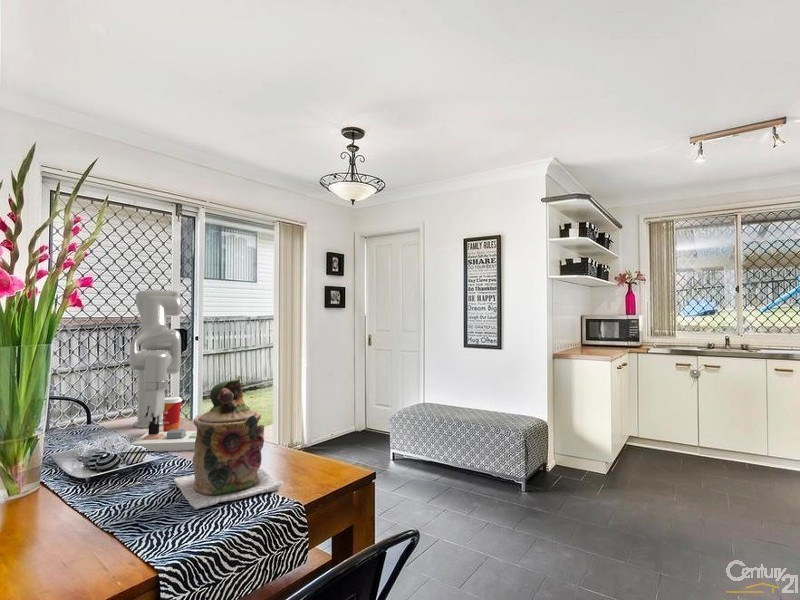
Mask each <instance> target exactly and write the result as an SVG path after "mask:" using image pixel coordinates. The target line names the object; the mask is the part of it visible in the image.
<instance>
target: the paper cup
mask: <svg viewBox="0 0 800 600" xmlns="http://www.w3.org/2000/svg"><path fill="white" fill-rule="evenodd" d="M182 402H183V400H182V397H180V396H171V397H170V396H168V397H165V406H164V411H163V413H162V419H163V425H162V427H163V431H162V432H169V431H170V430H171V429H180V428H179V427H180V419H181V407H182Z"/></svg>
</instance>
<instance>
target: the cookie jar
mask: <svg viewBox="0 0 800 600" xmlns="http://www.w3.org/2000/svg"><path fill="white" fill-rule="evenodd" d="M241 378H242V376H241V375H238V377H237V378H236V379H230V380H225V381H222V382H219V383H218V384H216V385H214V386H213V387H212V388H211V391H210V402H211V403H212V405H213V407H211V409H210V410H209V411H207V412H203V413H200V414H198V415H195V418H194V419H193V425H194V426H195V428H196V431H197V437H196V440H195V448H194V450H193V452H194V455H193V457H192V468H193V473H194V474H191V475H186V476H180V477H174V479H173V482H174V484H175V485H176V487H177V488H178V489H179V490H180V492H181V493H182V495H183V497H184V498H185V500H186V501H188V504H189V506H191V507H192V508H193V509H195V510H196V511H197V510H199V509H201V508H207V507H210V506H213V505H217V504H218V503H222V502H228V501H229V502H230V501H235V500H240V499H245V498H249V497H252V496H257V495H260V494H264V493H267V492H268V493H269V492H274V491H277V490H279V489H280V488H281V486H282V485H283V484H284V482H283V481H282V480H280V479H278V478H277V477H276V478H275V477H273V476H272V475H271V474H270V473H268V472H267V471H266V470H265V469H264V468H262V467H261V465H262V458H263V457H262V449H263V447H264V443H265V436H264V435H265V425H264V424H259V421H260V420H261V414H260V413H259V412H257V411H256V410H252V409H251V408H250V407H249V406H248V405H246V403H245V400H244V398H243V397H244V396H243V389H242V383H241ZM258 424H259V425H258Z"/></svg>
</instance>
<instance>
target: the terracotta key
mask: <svg viewBox="0 0 800 600" xmlns="http://www.w3.org/2000/svg"><path fill="white" fill-rule="evenodd" d="M163 435H164V434H157V435H149V434H148V435H147V436H146V437H144V440H154V439H161V438H162V437H163Z"/></svg>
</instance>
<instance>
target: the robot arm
mask: <svg viewBox="0 0 800 600" xmlns="http://www.w3.org/2000/svg"><path fill="white" fill-rule="evenodd" d="M135 305H136V307H137V308H136V309H137V311H138V313H139V315H140V319H141V328H140V329H141V330H140V331H139V332H137V334H136V335H135V336H134V337H133V339H132V340H131V343H130V347H129V366H130V368H131V370H133V371H137V379H138V380H137V383H138V384H137V388H138V390H137V416H136V417H137V421H134V422H133V423H132V427H133V428H136V429H147V428H148V431H147V432H148V434H149V435H157V434H158V433H159V432H160V427H161V426H163V411H164V406H165V398H166V396H165V390H167V381H168V380H167V378H168V377H167V376H168V375H175V374H178V373H179V372H180V371H181V365H182V364H181V363H182V361H181V360H182V354H181V353H182V337H181V336H182V335H181V333H180V331H179V330H177V329H172V328H171V329H169V328H168V329H167V317H168V316H169V317H170V316H171V317H172V316H174V317H175V316H176V317H177V316H180V315H181V313H182V310H183V302H182V298H181V296H180V294H179V292H178V291H174V290H158V289H157V290H156V289H155V290H154V289H153V290H152V289H151V290H149V289H147V290H140V291H138V292H136V295H135ZM140 346H141V349H143V350H139V347H140Z"/></svg>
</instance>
